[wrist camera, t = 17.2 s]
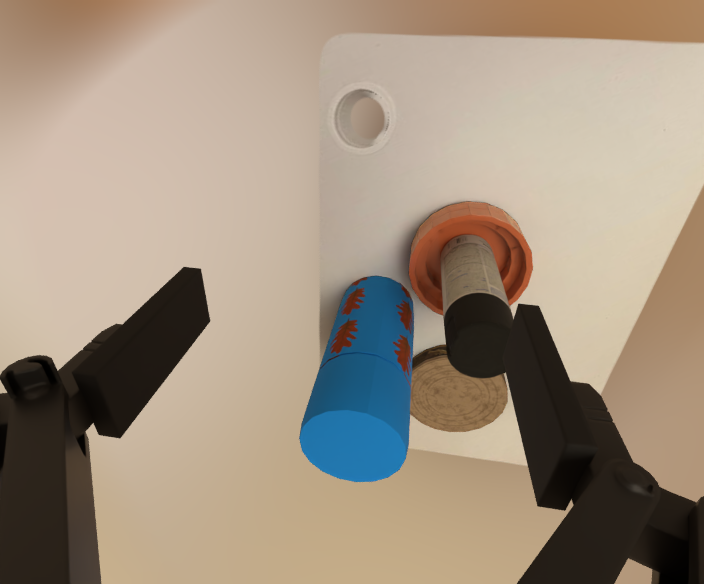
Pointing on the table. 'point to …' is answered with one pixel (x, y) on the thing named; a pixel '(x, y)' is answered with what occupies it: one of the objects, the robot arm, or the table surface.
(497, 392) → the brown round disc
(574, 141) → the table surface
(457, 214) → the dish
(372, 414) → the thermos
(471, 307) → the spray can
